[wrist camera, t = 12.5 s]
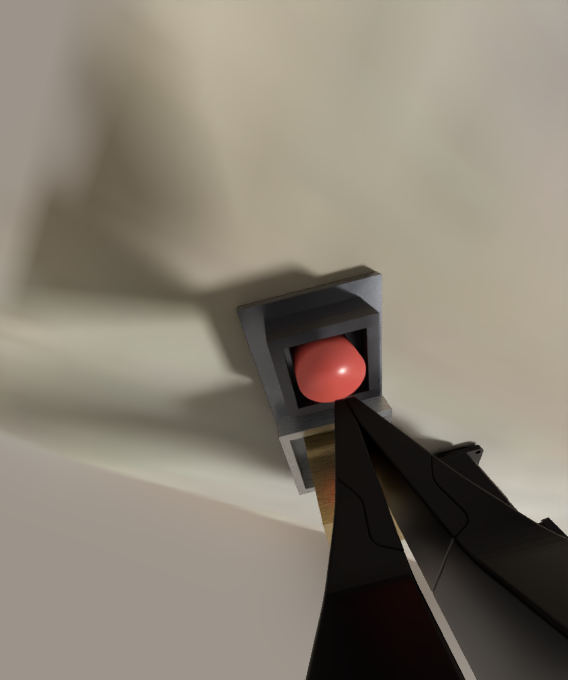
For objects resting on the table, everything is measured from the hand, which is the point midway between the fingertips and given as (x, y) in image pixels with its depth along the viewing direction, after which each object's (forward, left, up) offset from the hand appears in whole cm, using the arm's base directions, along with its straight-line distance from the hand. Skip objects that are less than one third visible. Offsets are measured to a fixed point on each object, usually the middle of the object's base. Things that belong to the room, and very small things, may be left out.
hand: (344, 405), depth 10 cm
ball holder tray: (-5, 0, -5) cm, 7 cm away
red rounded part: (0, 0, -5) cm, 5 cm away
